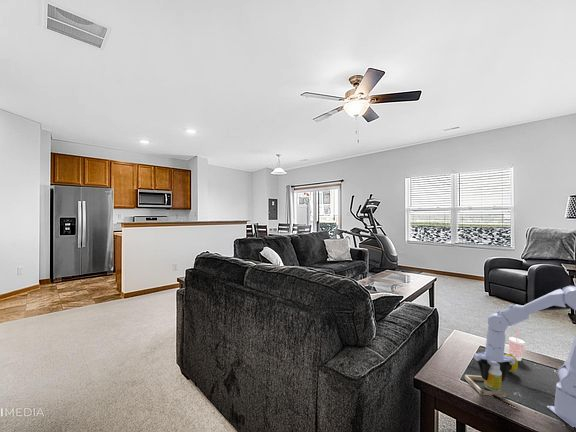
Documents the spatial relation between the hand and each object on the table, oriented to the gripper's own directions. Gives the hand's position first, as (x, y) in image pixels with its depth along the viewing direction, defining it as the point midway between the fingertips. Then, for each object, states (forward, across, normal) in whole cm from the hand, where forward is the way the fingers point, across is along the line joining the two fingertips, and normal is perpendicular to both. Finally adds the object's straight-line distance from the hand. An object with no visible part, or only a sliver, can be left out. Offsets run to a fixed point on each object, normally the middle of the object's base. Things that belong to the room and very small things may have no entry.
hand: (492, 379), depth 107 cm
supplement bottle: (+3, 0, 0) cm, 4 cm away
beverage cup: (+4, -30, -26) cm, 40 cm away
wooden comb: (+4, +3, +6) cm, 8 cm away
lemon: (+4, -17, -13) cm, 22 cm away
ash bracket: (+3, +2, 0) cm, 4 cm away
